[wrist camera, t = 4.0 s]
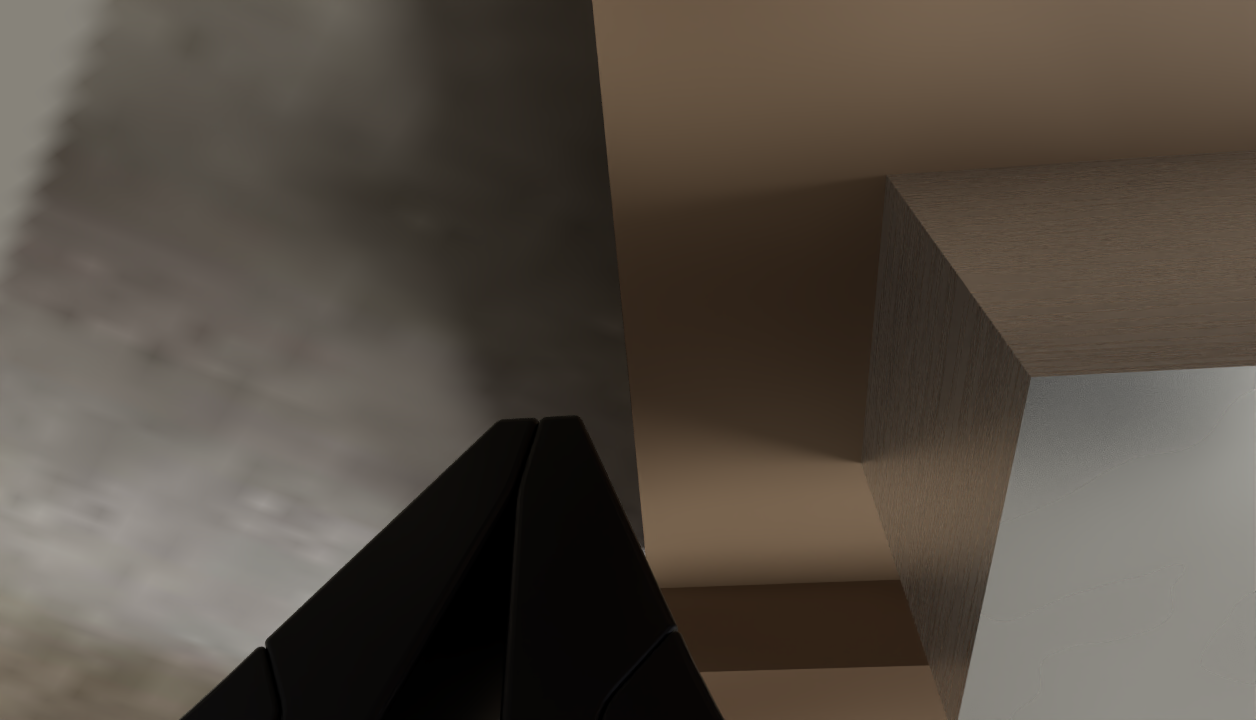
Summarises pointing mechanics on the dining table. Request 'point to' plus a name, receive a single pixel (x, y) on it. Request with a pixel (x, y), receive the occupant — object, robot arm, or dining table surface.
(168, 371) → the dining table surface
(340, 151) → the dining table surface
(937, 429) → the brushed metal block
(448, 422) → the dining table surface
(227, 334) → the dining table surface
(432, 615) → the robot arm
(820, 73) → the slot block
